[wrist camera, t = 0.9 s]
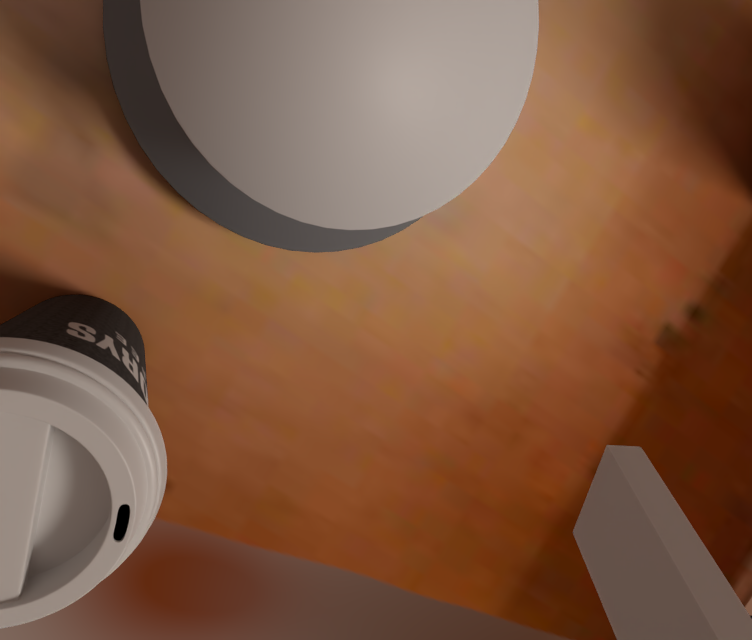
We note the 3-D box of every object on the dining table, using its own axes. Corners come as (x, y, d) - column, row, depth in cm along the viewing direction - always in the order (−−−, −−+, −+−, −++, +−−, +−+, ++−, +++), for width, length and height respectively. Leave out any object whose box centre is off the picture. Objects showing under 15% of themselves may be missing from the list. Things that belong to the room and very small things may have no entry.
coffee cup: (110, 464, 32) (54, 691, 19) (-67, 381, 28) (-304, 589, 15) (209, 329, 32) (225, 456, 18) (42, 227, 28) (-95, 291, 14)
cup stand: (13, 65, 26) (-61, 24, 18) (286, -279, 26) (329, -467, 18) (337, 316, 34) (381, 362, 26) (548, 54, 34) (655, 23, 26)
